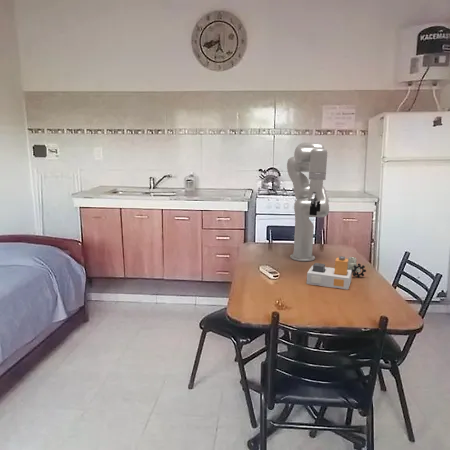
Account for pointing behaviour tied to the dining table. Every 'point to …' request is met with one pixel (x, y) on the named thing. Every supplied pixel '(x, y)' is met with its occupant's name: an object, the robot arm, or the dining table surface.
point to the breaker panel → (329, 278)
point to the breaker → (319, 267)
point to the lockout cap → (341, 266)
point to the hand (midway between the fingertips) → (314, 213)
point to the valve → (355, 267)
